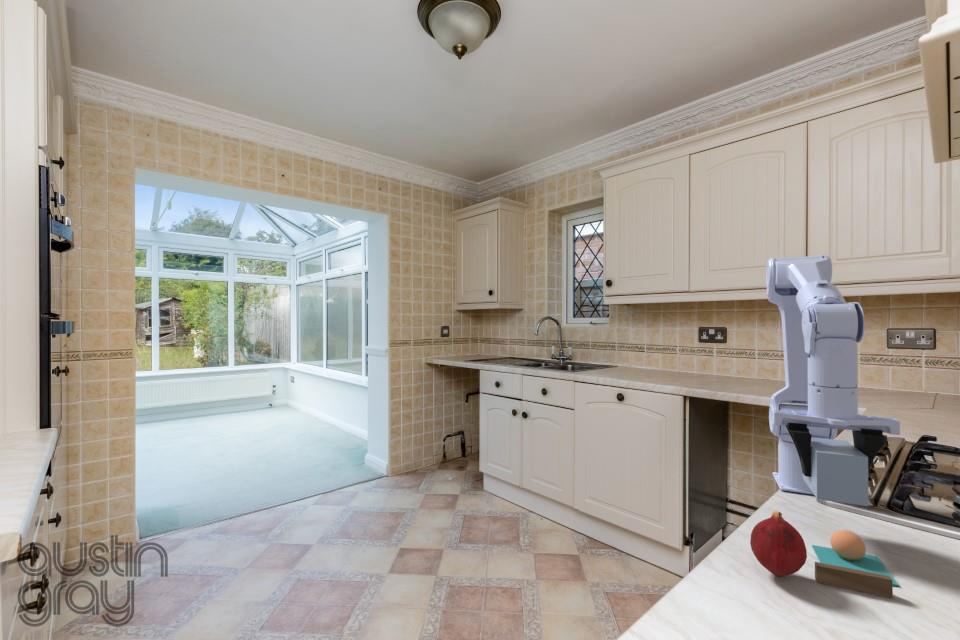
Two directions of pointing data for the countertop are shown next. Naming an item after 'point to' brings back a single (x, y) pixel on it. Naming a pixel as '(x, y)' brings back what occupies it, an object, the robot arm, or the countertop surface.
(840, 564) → the mark
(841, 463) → the matte gray cuboid
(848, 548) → the egg
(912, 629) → the countertop surface
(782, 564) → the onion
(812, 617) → the countertop surface
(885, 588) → the brown cuboid
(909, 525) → the countertop surface
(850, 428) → the robot arm
